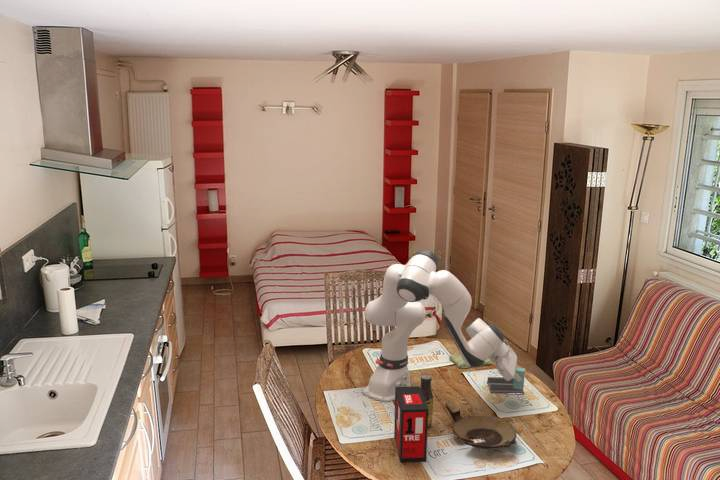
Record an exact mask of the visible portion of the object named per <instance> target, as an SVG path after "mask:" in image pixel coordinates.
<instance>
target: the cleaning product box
mask: <svg viewBox="0 0 720 480" xmlns="http://www.w3.org/2000/svg"><path fill="white" fill-rule="evenodd" d="M410 386H411V385H410ZM420 388H421V385H419V386H416V385H415V386H411V387H395V400H394V427H393V428H394V430H393V432H394V433H393V434H394V435H393V437H394V442H395V446H396V449H397V453H398V458H399V462H400V463H402V464H404V463H405V464H406V463H426V462H427V452H428V450H427V448H428V428H427V427H428V407H427V405H426V402H425V399H424V397H423V394H422V391H421V389H420Z"/></svg>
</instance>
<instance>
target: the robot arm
mask: <svg viewBox="0 0 720 480" xmlns="http://www.w3.org/2000/svg"><path fill="white" fill-rule="evenodd" d="M438 267H439V258H438V256H437V255H436V254H435V253H434V252H432V251H431V250H428V249H419V250H418V251H416V252H415V253H414V254H413V255H412V256H410V257H408V258H407V262H406V264H401V263H393V264H391V265H390V266H389V267H388V268H387V269H386V271H385V273H384V275H383V276H384V277H383V282H382V291H381V295H380V296H378V297H377V298H375V299H372V300H371V301H369V302H368V303H367V304H366V306H365V308H364V317H365V320H366V321H367V322H368V323H369V324H370V325H375V326H381V327H383V326H384V327H385V326H386V327H387V326H388V327H395V328H394V329H393V330H390V331H388V332H385V334H384V335H383V336H382V338H381V351H380V356H379V359H378V358H376V360H375V364H376V365H378V366H377V367H376V368H375V369H374V372H373V373H372V375H371V376H370V378H369V381H368V384H367V386H366V387H365V388H364V389H363V390H362V393H363V395H364V396H366V397H368V398H370V399H372V398H373V400H376V401H380V402H386V403H390V402H393V401H395V387H411V373H410V370H409V368H408V367H409V366H408V364H409V356H408V347H409V346H408V345H409V340H410V339H409V338H410V336H411V335H412V333H413V331H414V330H415V329H416V328H417V327H419V326H420V325H422V324H423V323H424V322H425V319H426V316H427V311H426V308H425V306H424V304H423V303H422V302H421V301H423V300H428V299H429V297H430V295H432V296H434V298H436V299H437V301H438V302H439V303H440V304H441V306H442V308H443V311H444V312H443V313H444V315H443V318H442V321H443V323H444V325H445V328H446V329H447V332H448V333H449V334H450V337H451V338H452V340H453V342H454V344H455V346H456V348H457V349H458V353H460V354H461V357H462V359H463V360H464V362H465V363H466V364H467V365H469V366H470V367H473V368H480V367H482V366H481V365H482V364H483V363H484V362H485V360H486V359H487V358H488V359H489V360H490V361H491V362H492V363H495V368H496V370H497V371H498V372H499V374H500V375H501V377H503V378H504V379H505V380H507V381H509V380H511V379H512V378H515V379H516V380H517V381H518V382H519V381H521V379H522V378H521V377H520V375H518V374H516V372H515V369H516V367H518V368H520V367H519V366H518V364H517V362H518V356H517V354H516V352H515V350H513V348H512V347H511V346H510V345H509V343H508V341H507V340H506V339H505V335H504V333H502V331H500V329H499V328H498V327H497V325H496V324H487V323H486V322H485V321H484V320H483V319H481V318H480V317H476V318H474V320H473V321H471V322H470V323H469V324H468V325H467V326H466V328H465V331H466V333H467V334H468V336H469V337H470V338H471V339H469V340H468V341H467V340H466V338H465V335H464V334H463V332H462V327H463V324H464V321H465V319H466V318H467V316H468V314H469V313H470V311H471V308H472V303H473V300H472V296H471V293H469V290H468V289H467V288H466V286H465V285H464V284H463V283H462V282H461V281H460V280H459V279H458V278H457V276H455V275H454V274H452V272H450V271H448V270H445V269H441V270H438ZM437 270H438V271H437Z"/></svg>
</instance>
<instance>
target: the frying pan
mask: <svg viewBox="0 0 720 480" xmlns="http://www.w3.org/2000/svg"><path fill="white" fill-rule="evenodd" d="M444 405H445V408H446V410H447V411H448V412H449V414H450V416H451V418H452V420H453V421H454V423H453V425H452V434H453V435H454V436H455V437H456V438H457V439H460V440H462V441H465V442H464V445H468V446H470V447H473V448H478V449H485V450H486V449H487V450H489V449H490V450H491V449H492V450H493V449H495V450H496V449H502V448H511V445H515V444H516V443H517V441H516V438H517V431H516V428H515V427H514V426H513V425H511V423H509V422H508V421H504V420H503V419H500V418H496V417H492V416H486V415H485V416H483V415H481V416H480V415H472V416H471V415H470V416H465V417H464V416H463V417H462V416H461V411H462V410H461V409H457V408H454V407H453V406H452V405H451V404H450V403H449V402H445V404H444ZM474 438H475V440H476V438H478V439H480V438H481V440H483V439H484V440H483V441H481V442H475V440H474Z"/></svg>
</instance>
